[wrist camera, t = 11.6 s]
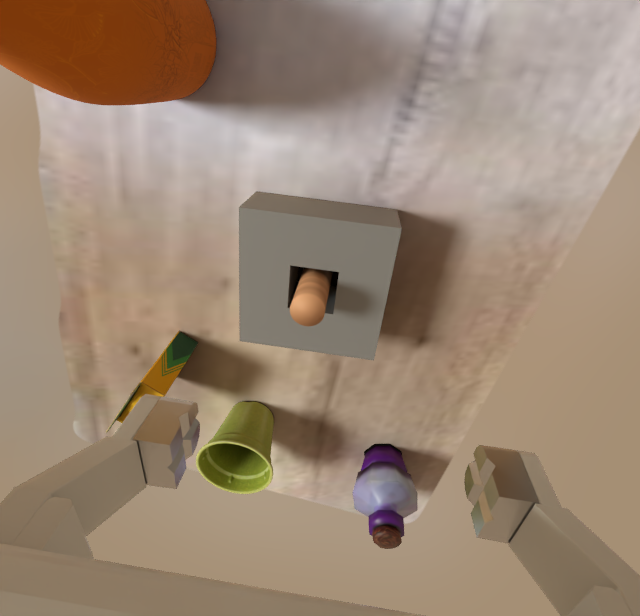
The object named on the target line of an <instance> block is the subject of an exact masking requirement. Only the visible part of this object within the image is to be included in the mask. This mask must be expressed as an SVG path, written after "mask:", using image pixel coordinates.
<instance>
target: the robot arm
mask: <svg viewBox="0 0 640 616" xmlns="http://www.w3.org/2000/svg"><path fill="white" fill-rule="evenodd" d="M197 413H198V405H197V403H195V402H190V401H185V400H179V399H174V398H168V397H161V396H155V395H149V394H145V395H144V396H142V397H141V398H140V399H139V401H138V402H137V403H136V405H135V406H134V407H133V409H132V410H131V412H130V413H129V414H128V416H127V417H126V419H125V420H124V421H123V423H122V424H121V425H120V427H119V428H118V430H117V431H116V432H115V434H114V435H113V436H112V437H108V436H107V437H105V438H103V439H101V440H99V441H98V442H96V443H94V444H92V445H91V446H89V447H87V448H85V449H83V450H81V451H80V452H78V453H76V454H74V455H72V456H71V457H69V458H67V459H65V460H63V461H62V462H60V463H58V464H56V465H55V466H53V467H51V468H49V469H47V470H45V471H44V472H42V473H40V474H38V475H36V476H35V477H33V478H31V479H29V480H27V481H26V482H24V483H22V484H20V485H18V486H17V487H15V488H14V489H13V490H12V491H11V492H10V493H9V494H8V495H7V496H6V498H5V499H4V500H3V501H2V502H1V503H0V616H424V615H417V614H412V613H407V612H400V611H395V610H389V609H383V608H377V607H372V606H366V605H360V604H354V603H348V602H342V601H336V600H331V599H325V598H319V597H312V596H307V595H301V594H295V593H289V592H284V591H278V590H272V589H266V588H259V587H254V586H248V585H243V584H237V583H231V582H225V581H219V580H213V579H207V578H201V577H196V576H189V575H184V574H178V573H172V572H166V571H160V570H154V569H149V568H143V567H137V566H131V565H125V564H119V563H113V562H108V561H101V560H96V559H93V555H92V551H91V549H90V546H89V544H88V541H87V539H86V536H87V535H88V534H90V533H91V532H92V531H93V530H95V529H96V528H97V527H98V526H99V525H101V524H102V523H103V522H104V521H105V520H106V519H108V518H109V517H110V516H112V515H113V514H114V513H115V512H116V511H118V510H119V509H120V508H121V507H122V506H124V505H125V504H126V503H127V502H128V501H130V500H131V499H132V498H133V497H135V496H136V495H137V494H138V493H139V492H141V491H142V490H143V489H144V488H146V485H151V486H158V487H166V488H173V489H177V486H178V484H179V482H180V480H181V478H182V476H183V474H184V471H185V469H186V462H185V460H186V459H187V458H189V457H190V456H191V455H193V453H194V450H195V448H196V446H197V442H198V438H199V432H200V424H199V421H198V420H197V419H196V418H195V417H196V415H197ZM474 457H475V461H473V462H471V463H470V464H469V465H468V467H467V470H466V473H465V490H466V495H467V498H468V499H469V501H470V502H471V503H472V504H473V505H474V508H473V510H472V512H471V516H472V520H473V524H474V528H475V532H476V536H477V538H482V539H488V540H493V541H498V542H504V543H509V547H510V548H511V549H512V551H513V552H514V553H515V555H516V556H517V557H518V559H519V560H520V561H521V563H522V564H523V566H524V567H525V568H526V569H527V571H528V572H529V574H530V575H531V576H532V577H533V579H534V580H535V582H536V583H537V584H538V586H539V587H540V588H541V590H542V591H543V593H544V594H545V595H546V596H547V598H548V599H549V601H550V602H551V603H552V605H553V606H554V607H555V609H556V610H557V611H558V613H559V614H560V615H561V616H640V575H639V574H638V573H637V572H635V571H634V570H633V569H632V568H631V567H630V566H629V565H628V564H627V563H626V562H625V561H624V560H622V559H621V558H620V557H619V556H618V555H617V554H616V553H615V552H614V551H613V550H612V549H611V548H609V547H608V546H607V545H606V544H605V543H604V542H603V541H602V540H601V539H600V538H599V537H597V535H595V534H594V533H593V532H592V531H591V530H590V529H589V528H588V527H587V526H586V525H585V524H584V523H583V522H581V521H580V520H579V519H578V518H577V517H576V516H575V515H574V514H573V513H572V512H570V510H569V509H566V508H562V507H561V505H560V502H559V500H558V498H557V496H556V494H555V492H554V490H553V487H552V486H551V483H550V481H549V479H548V477H547V475H546V473H545V470H544V468H543V466H542V464H541V462H540V460H539V458H538V456H537V455H536V454H535V453H530V452H524V451H516V450H511V449H503V448H497V447H490V446H483V445H479V446H478V447H477V448H476V450H475V452H474Z"/></svg>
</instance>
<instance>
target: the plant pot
mask: <svg viewBox="0 0 640 616" xmlns="http://www.w3.org/2000/svg"><path fill="white" fill-rule="evenodd" d="M273 426H274V419H273V415H272V413H271V411H270V410H269V409H268V408H267V407H266V406H264V405H262V404H260V403H258V402H254V401H253V402H240V403H238V404H236V405H235V406H234V407H233V408H232V410H231V411H230V413H229V414H228V416H227V417H226V419H225V421H224V422H223V424H222V425H221V427H220V428H219V430H218V431H217V433H216V434H215V436H214V437H213V439H211V440H210V441H209V442H208V444H206V445H205V446H203V447H202V448H201V449H200V451H199V452H198V454H197V457H196V465H197V468H198V470H199V472H200V474H201V475H202V476H203V477H204V478H205V479H206V480H207V481H208V482H209V483H211V484H213V485H214V486H216V487H218V488H220V489H222V490H225V491H229V492H233V493H241V494H250V493H255V492H259V491H261V490H263V489H265V488H266V487H267V486H268V485H269V484H270V483H271V480H272V477H273V468H272V465H271V458H270V454H271V444H272V435H273Z"/></svg>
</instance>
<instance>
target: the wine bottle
mask: <svg viewBox="0 0 640 616" xmlns="http://www.w3.org/2000/svg"><path fill="white" fill-rule="evenodd" d="M215 55H216V32H215V27H214V22H213V19H212V15H211V12H210V10H209V7H208V5H207V3H206V1H205V0H0V64H1V65H2V66H4V67H5V68H7V69H9V70H10V71H12V72H14V73H16V74H17V75H19V76H21V77H23V78H24V79H26V80H28V81H30V82H32V83H34V84H36V85H38V86H40V87H42V88H44V89H47V90H49V91H51V92H53V93H56V94H59V95H61V96H64V97H67V98H70V99H73V100H77V101H81V102H85V103H90V104H98V105H135V104H146V103H156V102H165V101H172V100H176V99H181V98H184V97H186V96H189V95H190V94H192V93H194V92H195V91H196V90H198V89H199V88H200V87H201V86H202V85H203V84H204V82H205V81H206V79H207V78H208V76H209V74H210V72H211V70H212V67H213V64H214V60H215Z"/></svg>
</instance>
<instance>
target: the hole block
mask: <svg viewBox="0 0 640 616" xmlns="http://www.w3.org/2000/svg"><path fill="white" fill-rule="evenodd" d="M401 230H402V227H401V223H400V219H399V216H398V212H397V210H396V209H389V208H381V207H373V206H365V205H357V204H350V203H342V202H334V201H326V200H318V199H310V198H303V197H295V196H287V195H279V194H271V193H263V192H255V193H254V194H253V195H252V196H251V197H250V198H249V199H248V200H247V201H245V202H244V203H243V204H242V205H241V206H240V207H239V300H240V341H243V342H250V343H257V344H264V345H271V346H278V347H285V348H292V349H299V350H306V351H312V352H319V353H326V354H333V355H340V356H347V357H354V358H361V359H368V360H374V357H375V352H376V348H377V343H378V338H379V334H380V329H381V324H382V319H383V315H384V310H385V305H386V301H387V296H388V291H389V287H390V282H391V277H392V272H393V268H394V263H395V258H396V254H397V249H398V244H399V240H400V235H401ZM298 267H305V268H313V269H320V270H327V271H335V272H339V276H338V283H337V287H333V286H330V288H329V294H328V299H327V304H326V309H325V315H324V318H323V320H322V321H321V322H320V323H319V324H317V325H314V326H303V325H300V324H298V323H297V322H295V321H294V320H293V318H292V317H291V314H290V306H291V303H292V300H293V297H294V294H295V292H296V289H297V286H298V283H299V282H297V275H298Z"/></svg>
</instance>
